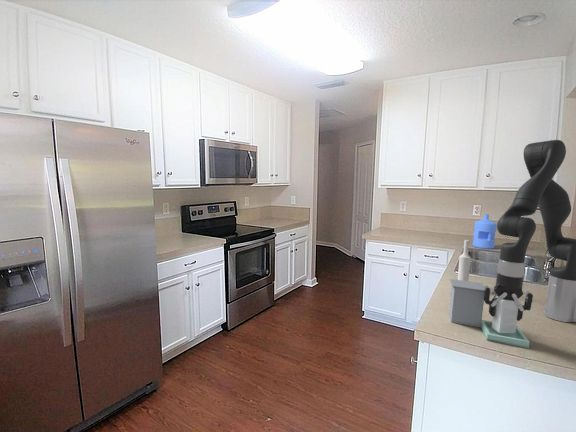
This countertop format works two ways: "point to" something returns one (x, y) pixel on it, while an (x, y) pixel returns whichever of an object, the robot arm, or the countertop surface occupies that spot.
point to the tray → (504, 335)
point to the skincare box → (505, 316)
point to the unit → (466, 302)
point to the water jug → (484, 233)
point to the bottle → (464, 263)
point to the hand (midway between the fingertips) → (504, 317)
